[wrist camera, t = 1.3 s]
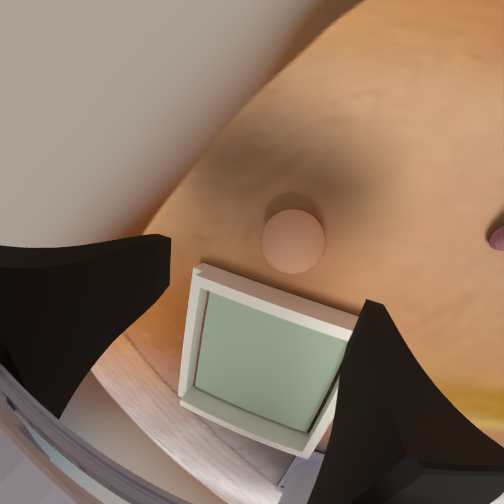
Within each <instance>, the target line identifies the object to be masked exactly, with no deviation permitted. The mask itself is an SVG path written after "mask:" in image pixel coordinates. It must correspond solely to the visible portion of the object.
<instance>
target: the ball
mask: <svg viewBox="0 0 504 504" xmlns="http://www.w3.org/2000/svg"><path fill="white" fill-rule="evenodd" d="M261 249H262V252H263V255H264V257H265V259H266V260H267V262H268V263H269V264H270V265H271V266H272V267H273V268H275V269H276V270H278V271H280V272H283V273H286V274H300V273H304V272H306V271H308V270H310V269H312V268H313V267H314V266H315V265H316V264H317V263H318V262H319V260H320V259H321V257H322V255H323V253H324V249H325V234H324V231H323V229H322V226H321V225H320V223H319V222H318V221H317V219H315V218H314V217H313V216H312V215H310V214H309V213H307V212H305V211H302V210H297V209H290V210H284V211H281V212H279V213H277V214H275V215H274V216H273V217H271V218H270V219H269V221H268V222H267V223H266V225H265V226H264V228H263V231H262V234H261Z"/></svg>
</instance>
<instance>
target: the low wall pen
mask: <svg viewBox="0 0 504 504" xmlns="http://www.w3.org/2000/svg"><path fill="white" fill-rule="evenodd" d="M208 291H210V292H213V293H215V294H218V295H220V296H223V297H226V298H228V299H231V300H233V301H236V302H239V303H241V304H244V305H246V306H249V307H252V308H254V309H257V310H260V311H262V312H265V313H268V314H271V315H273V316H276V317H279V318H282V319H284V320H287V321H290V322H293V323H296V324H298V325H301V326H304V327H307V328H310V329H313V330H316V331H319V332H321V333H324V334H327V335H330V336H333V337H336V338H339V339H342V340H345V341H349V338H350V336H351V334H352V332H353V329H354V327H355V325H356V323H357V320H358V318H359V316H356V315H353V314H350V313H347V312H344V311H341V310H338V309H335V308H332V307H329V306H326V305H323V304H320V303H317V302H314V301H311V300H308V299H305V298H302V297H299V296H296V295H293V294H290V293H287V292H284V291H282V290H279V289H276V288H273V287H270V286H267V285H264V284H261V283H259V282H256V281H253V280H250V279H247V278H244V277H242V276H239V275H236V274H233V273H230V272H228V271H225V270H222V269H219V268H217V267H214V266H211V265H208V264H206V263H202V264H200V265H198V266H196V267H194V268H193V274H192V281H191V288H190V295H189V302H188V310H187V318H186V326H185V334H184V342H183V351H182V360H181V369H180V379H179V390H178V396H180V397H182V398H181V399H180V404H179V405H181V406H183V407H185V408H186V409H188V410H190V411H192V412H194V413H196V414H198V415H200V416H202V417H204V418H206V419H208V420H210V421H212V422H214V423H217V424H219V425H221V426H223V427H225V428H227V429H230V430H232V431H234V432H236V433H239V434H241V435H243V436H246V437H248V438H250V439H253V440H255V441H258V442H260V443H263V444H265V445H268V446H271V447H273V448H276V449H279V450H281V451H284V452H287V453H290V454H293V455H295V456H298V457H301V458H304V459H309V457H310V455H311V454H312V452H313V451H314V449H315V448H316V446H317V444H318V443H319V441H320V440H321V438H322V436H323V435H324V433H325V431H326V430H327V428H328V426H329V425H330V423H331V421H332V419H333V418H334V414H335V407H336V400H337V393H338V385H339V377H340V374H339V376H338V379H337V381H336V383H335V385H334V387H333V389H332V391H331V393H330V395H329V397H328V399H327V401H326V403H325V405H324V407H323V409H322V411H321V412H320V414H319V416H318V418H317V420H316V422H315V424H314V425H313V427H312V429H311V431H310V433H306V432H303V431H300V430H297V429H294V428H291V427H289V426H286V425H283V424H280V423H278V422H275V421H273V420H270V419H267V418H265V417H262V416H260V415H257V414H255V413H253V412H250V411H248V410H245V409H243V408H241V407H238V406H236V405H234V404H232V403H229V402H227V401H225V400H223V399H220V398H218V397H216V396H214V395H212V394H210V393H208V392H206V391H204V390H202V389H199V388H197V387H195V386H194V378H195V371H196V364H197V357H198V351H199V344H200V337H201V331H202V325H203V318H204V312H205V306H206V300H207V294H208Z"/></svg>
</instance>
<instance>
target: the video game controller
mask: <svg viewBox="0 0 504 504" xmlns="http://www.w3.org/2000/svg"><path fill="white" fill-rule="evenodd" d="M489 245H490V247H491V248H493V249H496V250H501V251H504V226H502V227H501V228H499V229H497V230H496V231H495V232H494V233H493V234H492V235H491V237H490V239H489Z"/></svg>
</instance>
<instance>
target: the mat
mask: <svg viewBox="0 0 504 504" xmlns="http://www.w3.org/2000/svg"><path fill="white" fill-rule="evenodd" d="M347 343H348V341H345V340H342V339H339V338H336V337H333V336H330V335H327V334H324V333H321V332H319V331H316V330H313V329H310V328H307V327H304V326H301V325H298V324H296V323H293V322H290V321H287V320H284V319H282V318H279V317H276V316H273V315H271V314H268V313H265V312H262V311H260V310H257V309H254V308H252V307H249V306H246V305H244V304H241V303H239V302H236V301H233V300H231V299H228V298H226V297H223V296H220V295H218V294H215V293H213V292H210V293H209V299H208V305H207V311H206V317H205V323H204V329H203V336H202V342H201V348H200V355H199V362H198V368H197V375H196V382H195V387H197V388H199V389H202V390H204V391H206V392H208V393H210V394H212V395H214V396H216V397H218V398H220V399H223V400H225V401H227V402H229V403H232V404H234V405H236V406H238V407H241V408H243V409H245V410H248V411H250V412H253V413H255V414H257V415H260V416H262V417H265V418H267V419H270V420H273V421H275V422H278V423H280V424H283V425H286V426H289V427H291V428H294V429H297V430H300V431H303V432H307V431H308V429H309V427H310V425H311V423H312V421H313V419H314V418H315V416H316V414H317V412H318V410H319V408H320V406H321V404H322V402H323V400H324V398H325V396H326V394H327V392H328V390H329V388H330V386H331V384H332V382H333V379H334V377H335V375H336V373H337V371H338V369H339V367H340V364H341V362H342V360H343V357H344V353H345V349H346V345H347Z"/></svg>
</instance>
